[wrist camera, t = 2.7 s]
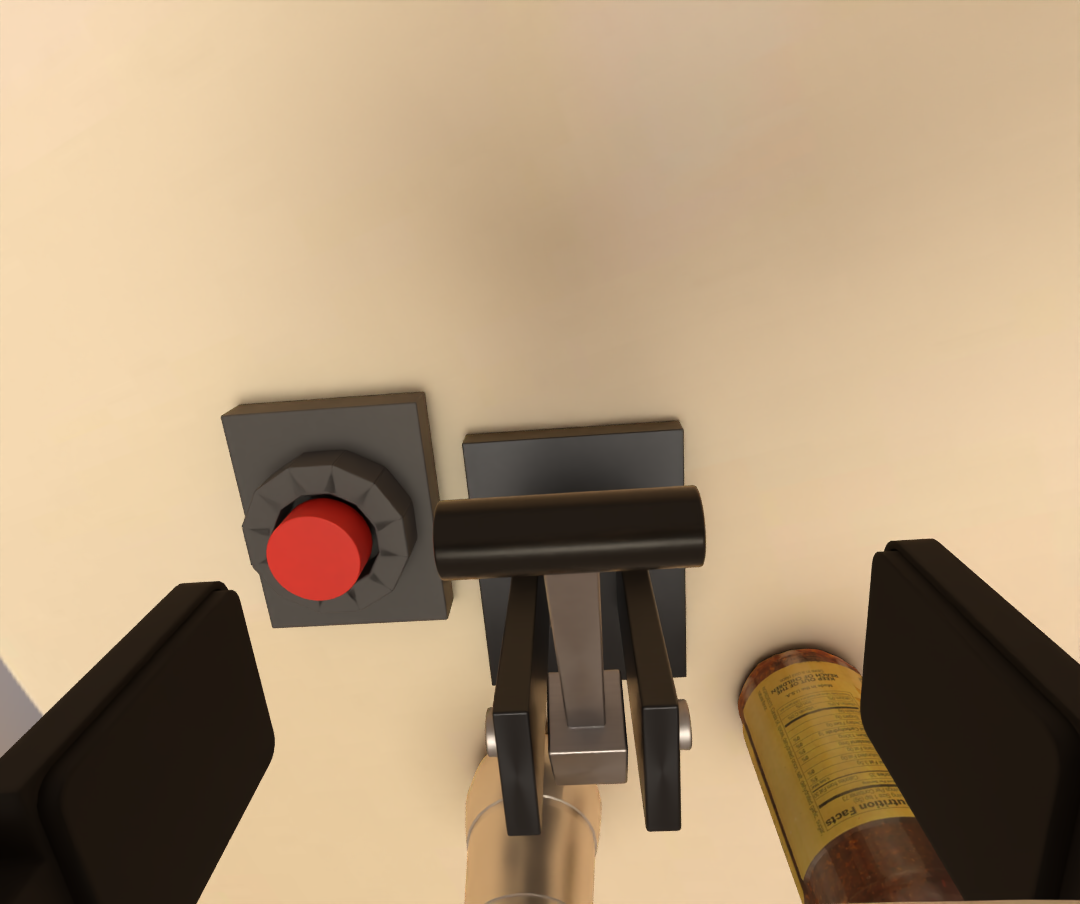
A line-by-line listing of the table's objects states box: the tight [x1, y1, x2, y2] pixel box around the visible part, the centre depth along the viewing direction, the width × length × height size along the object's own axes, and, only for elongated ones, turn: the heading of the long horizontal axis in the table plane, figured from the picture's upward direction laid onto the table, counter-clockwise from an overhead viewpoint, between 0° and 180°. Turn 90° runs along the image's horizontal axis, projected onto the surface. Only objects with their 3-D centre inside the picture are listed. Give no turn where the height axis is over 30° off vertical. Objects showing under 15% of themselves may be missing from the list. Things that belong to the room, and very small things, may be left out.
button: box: [266, 498, 372, 601], centre depth 27 cm, size 4×4×2 cm
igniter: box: [221, 392, 453, 628], centre depth 29 cm, size 10×8×4 cm
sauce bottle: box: [738, 649, 964, 904], centre depth 24 cm, size 7×6×20 cm
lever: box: [433, 485, 706, 786], centre depth 17 cm, size 12×5×2 cm, turn 4°
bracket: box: [462, 421, 692, 836], centre depth 25 cm, size 12×9×13 cm
